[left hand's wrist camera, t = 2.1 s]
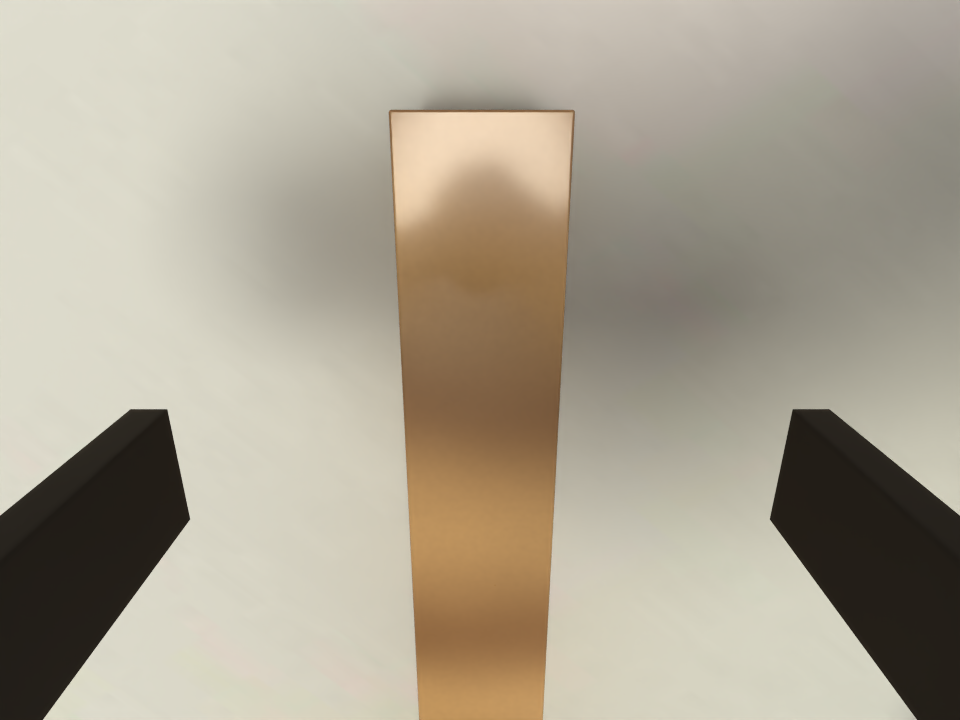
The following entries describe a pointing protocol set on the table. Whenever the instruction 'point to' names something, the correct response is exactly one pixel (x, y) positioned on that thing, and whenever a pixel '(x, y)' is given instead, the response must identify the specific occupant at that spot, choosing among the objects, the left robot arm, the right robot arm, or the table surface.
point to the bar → (481, 394)
